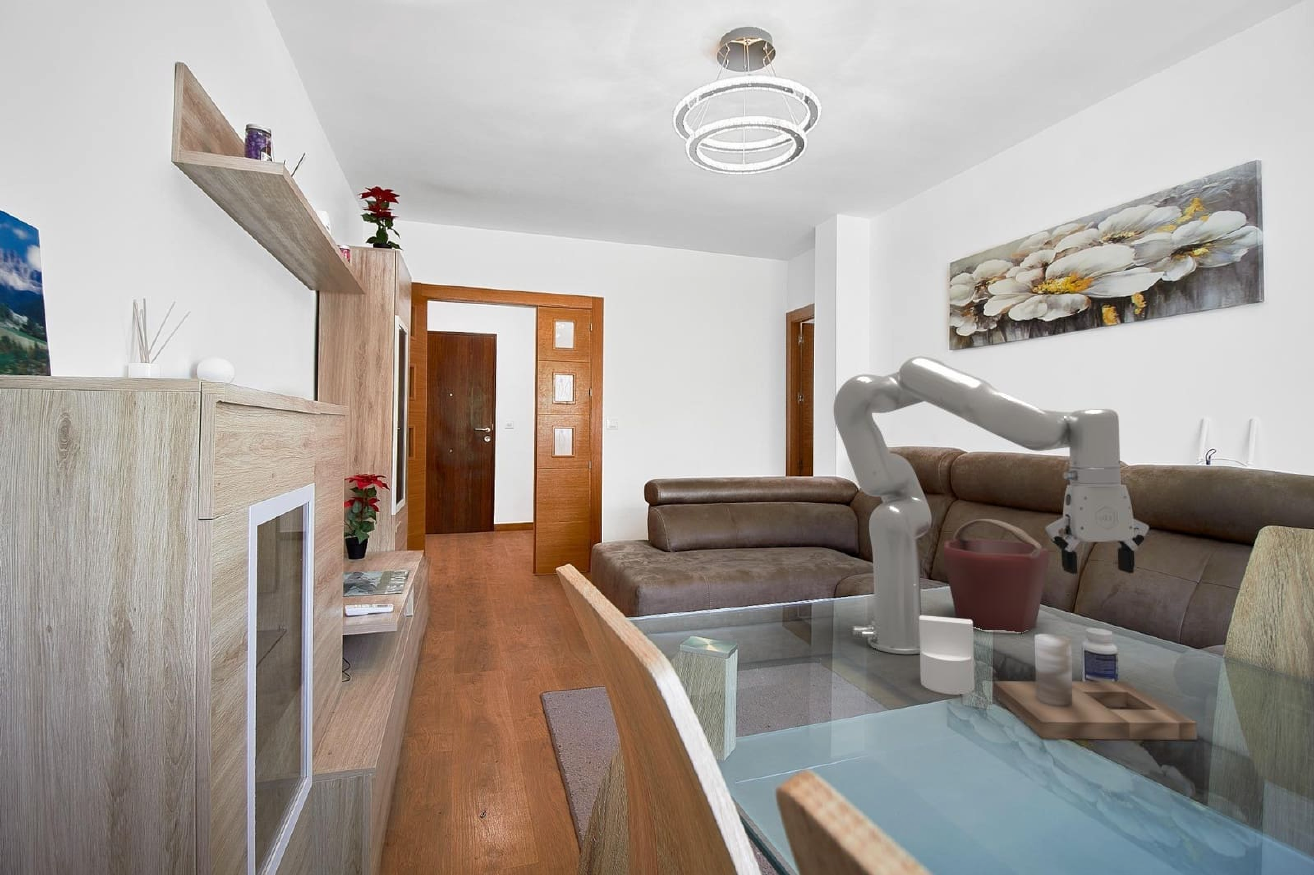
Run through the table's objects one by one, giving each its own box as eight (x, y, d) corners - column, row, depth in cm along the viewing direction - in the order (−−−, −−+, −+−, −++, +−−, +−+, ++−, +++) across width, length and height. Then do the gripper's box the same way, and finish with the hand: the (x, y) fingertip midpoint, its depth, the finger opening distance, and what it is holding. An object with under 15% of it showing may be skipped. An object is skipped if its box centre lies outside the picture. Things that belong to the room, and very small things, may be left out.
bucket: (1070, 639, 141) (1067, 526, 141) (970, 640, 141) (967, 528, 141) (1010, 609, 165) (1008, 513, 165) (925, 611, 166) (922, 514, 166)
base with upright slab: (973, 679, 119) (972, 615, 119) (975, 697, 111) (973, 629, 111) (921, 673, 123) (920, 611, 123) (919, 690, 115) (917, 623, 115)
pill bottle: (1124, 691, 112) (1123, 636, 112) (1090, 690, 113) (1089, 635, 113) (1109, 680, 117) (1108, 627, 117) (1077, 678, 118) (1075, 626, 118)
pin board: (1042, 738, 96) (1040, 655, 96) (993, 695, 112) (991, 624, 112) (1196, 739, 94) (1194, 655, 94) (1124, 696, 110) (1122, 623, 110)
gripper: (1057, 480, 112) (1060, 577, 112) (1160, 477, 111) (1163, 575, 111) (1034, 477, 120) (1037, 568, 119) (1130, 475, 118) (1133, 567, 118)
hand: (1098, 572), depth 115 cm, fingers open, 9 cm apart
